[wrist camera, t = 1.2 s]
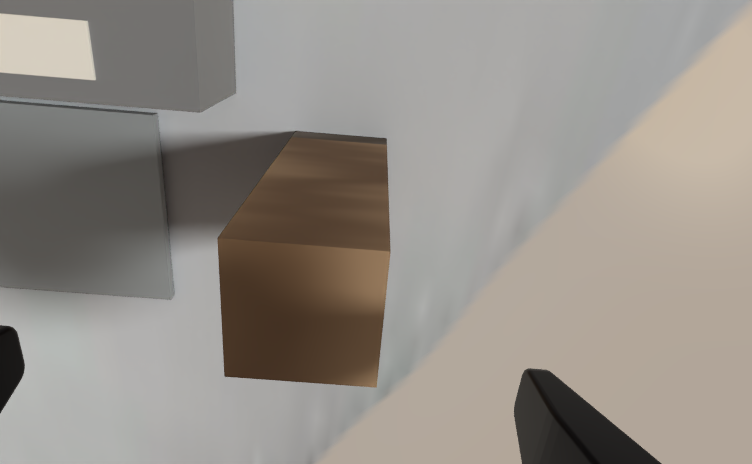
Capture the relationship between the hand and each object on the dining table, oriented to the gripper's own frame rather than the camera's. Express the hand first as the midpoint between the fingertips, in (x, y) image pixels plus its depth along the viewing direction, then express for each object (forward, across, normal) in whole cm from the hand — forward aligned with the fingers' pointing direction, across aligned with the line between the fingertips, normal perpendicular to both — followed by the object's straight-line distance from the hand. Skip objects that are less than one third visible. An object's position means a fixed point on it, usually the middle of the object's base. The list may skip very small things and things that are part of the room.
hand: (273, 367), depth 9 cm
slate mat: (+12, +12, +2) cm, 17 cm away
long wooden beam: (+12, 0, 0) cm, 12 cm away
